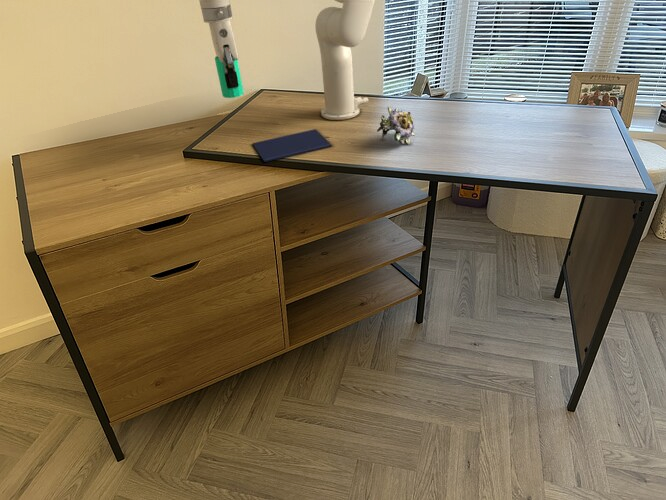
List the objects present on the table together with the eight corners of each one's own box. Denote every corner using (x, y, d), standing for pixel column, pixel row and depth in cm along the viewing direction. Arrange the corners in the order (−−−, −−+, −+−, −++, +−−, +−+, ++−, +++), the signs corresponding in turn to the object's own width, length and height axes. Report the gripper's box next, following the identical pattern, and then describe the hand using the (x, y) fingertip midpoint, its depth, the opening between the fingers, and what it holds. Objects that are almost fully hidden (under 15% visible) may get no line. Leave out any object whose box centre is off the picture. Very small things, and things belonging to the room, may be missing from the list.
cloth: (315, 130, 148) (315, 128, 148) (331, 146, 137) (331, 144, 137) (252, 144, 143) (252, 142, 143) (264, 162, 132) (264, 160, 132)
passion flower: (406, 161, 138) (406, 139, 127) (371, 150, 141) (367, 128, 129) (419, 128, 140) (420, 104, 129) (384, 118, 143) (382, 94, 132)
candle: (239, 98, 133) (230, 52, 126) (219, 98, 135) (209, 53, 128) (246, 90, 138) (238, 46, 131) (227, 91, 139) (218, 47, 132)
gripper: (237, 16, 118) (250, 90, 129) (225, 7, 132) (238, 75, 142) (207, 21, 117) (223, 95, 127) (198, 11, 130) (213, 79, 140)
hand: (231, 84), depth 135 cm, fingers closed on candle, 4 cm apart
